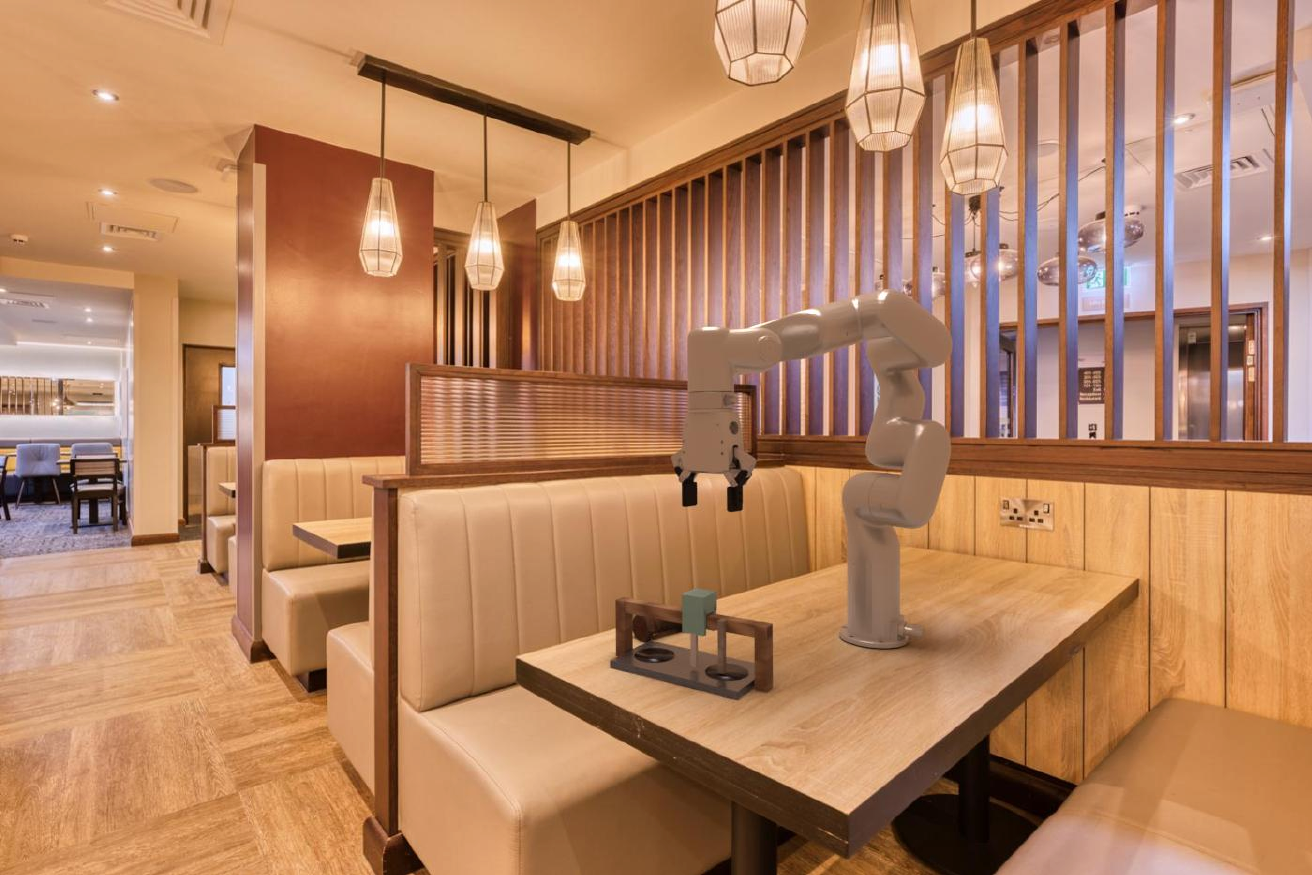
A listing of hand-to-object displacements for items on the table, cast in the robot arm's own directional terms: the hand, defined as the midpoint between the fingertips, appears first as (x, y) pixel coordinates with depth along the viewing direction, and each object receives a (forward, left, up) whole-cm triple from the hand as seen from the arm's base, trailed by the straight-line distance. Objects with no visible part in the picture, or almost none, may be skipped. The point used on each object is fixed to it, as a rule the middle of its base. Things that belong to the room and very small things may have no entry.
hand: (711, 508), depth 107 cm
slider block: (+2, +1, -26) cm, 26 cm away
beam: (+4, +1, -27) cm, 28 cm away
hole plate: (+4, +1, -27) cm, 28 cm away
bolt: (+17, -14, -28) cm, 35 cm away
